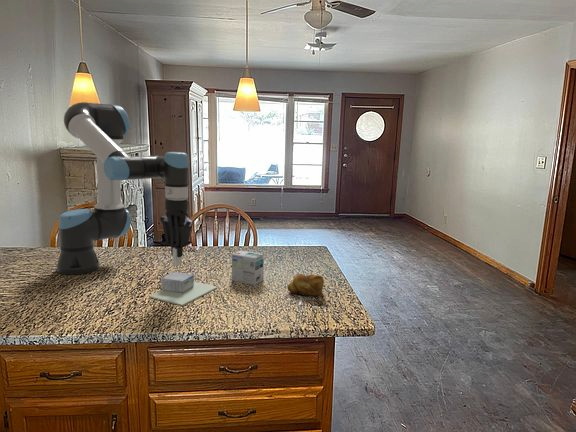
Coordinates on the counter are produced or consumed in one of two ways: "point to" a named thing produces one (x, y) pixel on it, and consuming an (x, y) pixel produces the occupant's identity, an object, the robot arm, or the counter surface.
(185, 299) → the cutting board
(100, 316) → the counter surface
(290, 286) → the bread roll
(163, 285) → the medicine box
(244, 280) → the light bulb box
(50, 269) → the counter surface
